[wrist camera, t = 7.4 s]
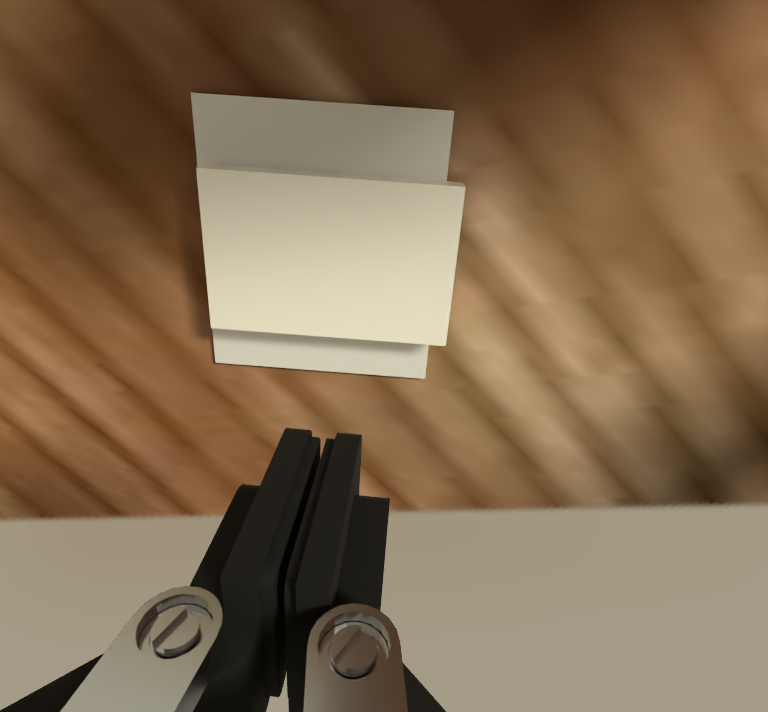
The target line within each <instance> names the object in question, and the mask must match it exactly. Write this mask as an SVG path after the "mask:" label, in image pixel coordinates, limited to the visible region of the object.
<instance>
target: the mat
mask: <svg viewBox="0 0 768 712" xmlns="http://www.w3.org/2000/svg"><path fill="white" fill-rule="evenodd" d="M191 102H192V112H193V123H194V134H195V145H196V156H197V167H201V166H205V165H210V164H211V165H225V166H239V167H253V168H267V169H281V170H295V171H310V172H324V173H338V174H352V175H366V176H380V177H394V178H408V179H422V180H436V181H447V174H448V165H449V156H450V147H451V138H452V128H453V119H454V111H451V110H437V109H422V108H407V107H393V106H378V105H364V104H349V103H335V102H320V101H306V100H291V99H276V98H262V97H247V96H233V95H218V94H204V93H191ZM212 331H213V342H214V353H215V363H228V364H240V365H253V366H266V367H279V368H292V369H305V370H318V371H331V372H343V373H356V374H369V375H382V376H395V377H408V378H421V379H425V374H426V364H427V355H428V346H429V345H426V344H413V343H400V342H387V341H374V340H361V339H348V338H334V337H321V336H308V335H295V334H282V333H269V332H256V331H243V330H230V329H217V328H212Z"/></svg>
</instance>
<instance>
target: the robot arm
mask: <svg viewBox="0 0 768 712" xmlns="http://www.w3.org/2000/svg"><path fill="white" fill-rule="evenodd" d="M361 445H362V435H357V434H347V433H337V434H336V437H335V439H329V438H327V439H326V442H325V445H324V449H323V452H322V455H321V459H320V438H318V437H312V431H311V430H303V429H292V428H286V429H285V431H284V433H283V435H282V437H281V439H280V442H279V444H278V446H277V448H276V451H275V453H274V455H273V458H272V460H271V462H270V464H269V467H268V469H267V471H266V473H265V476H264V478H263V480H262V483H261V485H260V486H254V485H244V484H242V485H241V486H240V487H239V488H238V490H237V492H236V494H235V496H234V498H233V500H232V502H231V504H230V506H229V508H228V510H227V512H226V514H225V516H224V518H223V520H222V522H221V524H220V526H219V528H218V530H217V532H216V534H215V536H214V538H213V540H212V542H211V544H210V546H209V548H208V550H207V552H206V554H205V556H204V558H203V560H202V562H201V564H200V566H199V568H198V570H197V572H196V574H195V576H194V578H193V580H192V582H191V585H190V586H184V587H178V588H172V589H170V590H167V591H165V592H162V593H160V594H158V595H156V596H155V597H153V598H151V599H150V600H149V601H147V602H146V603H144V604H143V605H142V606H141V608H140V609H139V610H138V611H137V612H136V613H135V614H134V615H133V616H132V618H131V619H130V620H129V622H128V623H127V624H126V626H125V627H124V628H123V630H122V631H121V632H120V633H119V635H118V636H117V638H116V639H115V640H114V641H113V643H112V644H111V645H110V647H109V648H108V649H107V651H106V652H105V653H104V654H102V655H100V656H98V657H96V658H95V659H93V660H91V661H89V662H88V663H86V664H84V665H82V666H80V667H78V668H77V669H75V670H73V671H71V672H69V673H68V674H66V675H64V676H62V677H60V678H58V679H57V680H55V681H53V682H51V683H49V684H48V685H46V686H44V687H42V688H40V689H39V690H37V691H35V692H33V693H31V694H29V695H28V696H26V697H24V698H22V699H20V700H19V701H17V702H15V703H13V704H11V705H10V706H8V707H6V708H4V709H2V710H0V712H266V710H267V706H268V702H269V698H270V696H275V697H279V696H280V694H281V692H282V688H283V684H284V679H285V676H286V672H287V689H288V690H287V691H288V698H289V712H446V711H445V710H444V709H443V708H442V706H441V705H440V704H439V703H438V702H437V701H436V700H435V699H434V697H433V696H432V695H431V694H430V693H429V692H428V691H427V690H426V688H424V686H423V685H422V684H421V683H420V682H419V681H418V679H417V678H416V677H415V676H414V675H413V674H412V673H411V672H410V670H409V669H408V668H407V667H406V666H405V665H404V664H403V663H402V655H401V646H400V640H399V637H398V633H397V630H396V628H395V626H394V625H393V623H392V622H391V620H390V619H389V618H388V617H387V616H386V615H384V614H383V613H382V612H381V611H380V607H381V596H382V584H383V572H384V560H385V549H386V536H387V525H388V514H389V502H390V498H379V497H369V496H359V484H360V465H361Z"/></svg>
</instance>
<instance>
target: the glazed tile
mask: <svg viewBox="0 0 768 712" xmlns="http://www.w3.org/2000/svg"><path fill="white" fill-rule="evenodd" d="M196 173H197V183H198V194H199V205H200V216H201V226H202V237H203V248H204V259H205V270H206V280H207V291H208V302H209V313H210V323H211V328H217V329H230V330H243V331H256V332H269V333H282V334H295V335H308V336H321V337H334V338H348V339H361V340H374V341H387V342H400V343H413V344H426V345H439V346H446V340H447V332H448V324H449V316H450V308H451V300H452V292H453V284H454V276H455V268H456V261H457V253H458V245H459V237H460V229H461V221H462V213H463V205H464V197H465V189H466V187H465V185H464V184H463V183H462V182H450V181H436V180H422V179H408V178H394V177H380V176H366V175H352V174H338V173H324V172H310V171H295V170H281V169H267V168H253V167H239V166H225V165H211V164H210V165H205V166H201V167H197V168H196Z"/></svg>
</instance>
